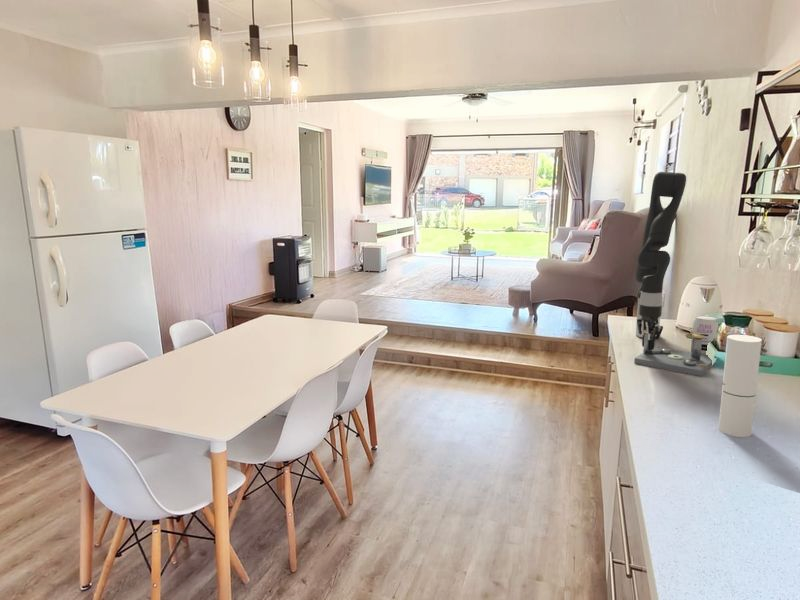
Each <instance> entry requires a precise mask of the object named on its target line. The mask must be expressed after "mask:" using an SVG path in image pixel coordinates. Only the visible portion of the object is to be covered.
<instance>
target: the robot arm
mask: <svg viewBox="0 0 800 600" xmlns="http://www.w3.org/2000/svg"><path fill="white" fill-rule="evenodd" d="M686 184H687V176H686V174H685V173H683V172H674V171H658V172H657V173H655V175H654V178H653V180H652V186H651V193H650V201H649V202H650V203H649V209H648V215H647V218H646V221H645V222H646V223H645V226H644V231H643V238H642V245H641V250H640V252H639V254H638V257H637V264H636V268H635V274H634V275H635V279H636V282H637V283H640V284H641V290H640V291H638V295H637V310H636V323H635V324H636V326H635V336H636V337H638V338H642V343H641V347H642V348H644V334H645V333H644V330H645V329H647V334H648V347H647V348H648V349H649V350H653V349H654V347H655V341H657V340H660V338H661V334H662V331H663V329H664V327H663V325H660V323H661V317H662V313H663V312H662V311H663V299H664V298H663V288H664V287H663V286H664V279H665V276H666V273H667V270H668V268H669V265H670V262H671V255H670V253H669V252H668V251H666V250H660V249H661V248H665V247H666V246H668V244H669V242H670V237H671V232H672V228H673V224H674V221H675V219H676V215H677V212H678V210H679V208H680V204H681V201H682V198H683V196H684V192H685V188H686ZM661 197H663V198H671V201H670V202H669V203H668V205H667V206H666V207H665V208H664V207H663V205H662V200H661ZM650 331H653V332H650ZM651 334H652V336H651Z"/></svg>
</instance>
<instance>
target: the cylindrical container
mask: <svg viewBox="0 0 800 600" xmlns="http://www.w3.org/2000/svg"><path fill="white" fill-rule="evenodd" d="M762 341H763V340H762V338H760V337H757V336H753V335H747V334H729V335H727V336H726V345H725V358H724V366H723V367H724V368H723V378H722V387H721V399H720V406H719V407H720V408H719V409H720V410H719V418H718V430H719V431H720V432H722V433H724V434H725V435H729V436H733V437H737V438H748V437H751V436H752V433H753V425H754V424H753V423H754V415H755V404H756V396H757V387H758V377H759V370H760V369H759V368H760V361H761V352H762V343H763V342H762Z"/></svg>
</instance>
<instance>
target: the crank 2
mask: <svg viewBox="0 0 800 600" xmlns="http://www.w3.org/2000/svg"><path fill="white" fill-rule="evenodd" d="M702 338H703V335H701V334H691V343H692V349H691V348H690V353H691V358H690V359H684V360H683V364H685V365H688V366H695V365H696V360H699V359H700V357H701V345H702Z"/></svg>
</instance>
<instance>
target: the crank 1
mask: <svg viewBox="0 0 800 600" xmlns="http://www.w3.org/2000/svg"><path fill="white" fill-rule="evenodd" d="M650 332H653V331H650ZM644 333H645V334H644V347H643V350H642V353H646V354H652V353H662V354H671V350H670V349H671V348H667V347H660V349H657V350H649V349H648V348H647V347H648V334H647V329H645V330H644ZM651 336H652V334H651Z"/></svg>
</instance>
